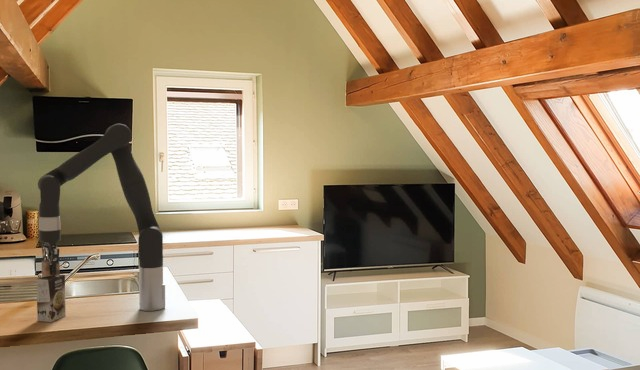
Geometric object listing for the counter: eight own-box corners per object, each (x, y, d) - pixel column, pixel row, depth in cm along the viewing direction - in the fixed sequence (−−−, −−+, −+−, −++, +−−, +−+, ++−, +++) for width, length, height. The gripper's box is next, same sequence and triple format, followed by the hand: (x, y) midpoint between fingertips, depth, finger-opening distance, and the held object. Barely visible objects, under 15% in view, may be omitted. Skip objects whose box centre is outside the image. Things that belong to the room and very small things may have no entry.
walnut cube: (55, 272, 248) (55, 259, 248) (59, 274, 244) (59, 261, 244) (41, 274, 245) (41, 261, 245) (45, 276, 241) (45, 263, 241)
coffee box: (52, 322, 241) (51, 279, 240) (36, 321, 242) (35, 278, 241) (66, 315, 250) (65, 274, 249) (51, 314, 251) (50, 273, 250)
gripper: (66, 229, 240) (67, 275, 241) (54, 225, 251) (55, 269, 253) (45, 231, 235) (46, 278, 237) (33, 227, 247) (34, 271, 248)
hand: (50, 273), depth 245 cm, fingers closed on walnut cube, 4 cm apart
